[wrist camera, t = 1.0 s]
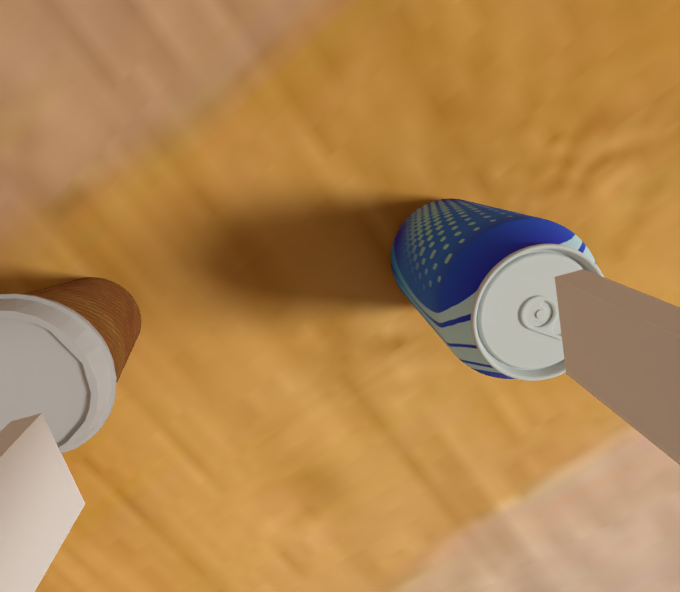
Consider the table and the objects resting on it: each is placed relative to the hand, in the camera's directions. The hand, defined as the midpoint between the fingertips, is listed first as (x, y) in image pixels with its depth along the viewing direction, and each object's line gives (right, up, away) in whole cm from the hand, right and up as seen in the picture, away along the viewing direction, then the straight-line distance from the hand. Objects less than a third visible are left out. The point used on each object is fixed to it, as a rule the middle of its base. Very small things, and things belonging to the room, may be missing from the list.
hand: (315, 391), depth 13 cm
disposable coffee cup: (-17, +1, +25) cm, 30 cm away
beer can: (+8, +6, +26) cm, 28 cm away
